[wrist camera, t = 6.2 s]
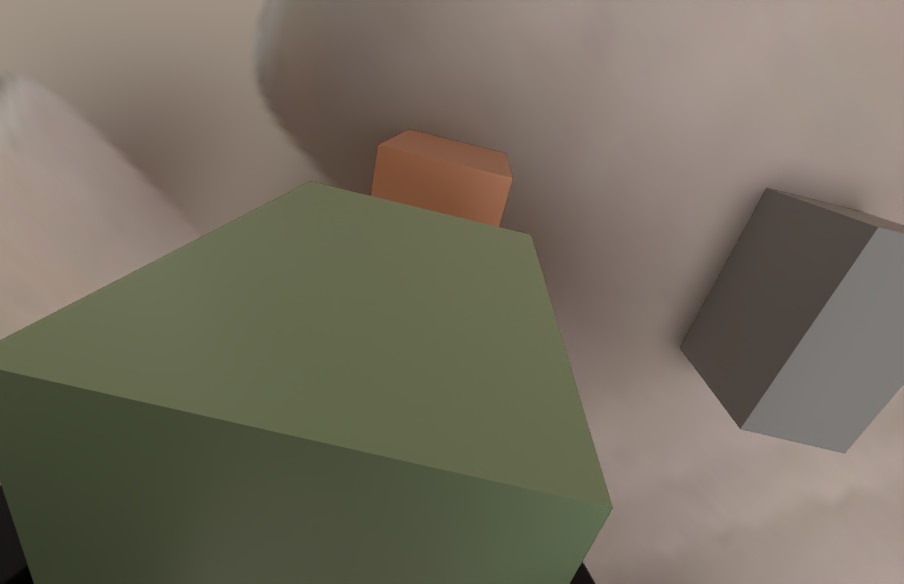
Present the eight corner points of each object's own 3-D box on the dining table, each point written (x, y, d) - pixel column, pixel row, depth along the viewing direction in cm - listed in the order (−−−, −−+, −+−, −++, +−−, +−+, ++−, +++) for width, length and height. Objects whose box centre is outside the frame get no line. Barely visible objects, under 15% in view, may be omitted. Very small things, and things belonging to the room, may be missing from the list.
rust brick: (461, 316, 19) (453, 387, 14) (380, 297, 19) (346, 363, 14) (505, 152, 16) (512, 178, 11) (409, 129, 16) (378, 144, 11)
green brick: (439, 519, 10) (399, 880, 5) (285, 485, 10) (113, 822, 5) (531, 235, 7) (612, 508, 2) (310, 180, 7) (-39, 359, 2)
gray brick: (758, 365, 19) (845, 453, 14) (678, 346, 19) (740, 428, 14) (859, 211, 16) (1009, 259, 11) (765, 187, 16) (878, 227, 11)
